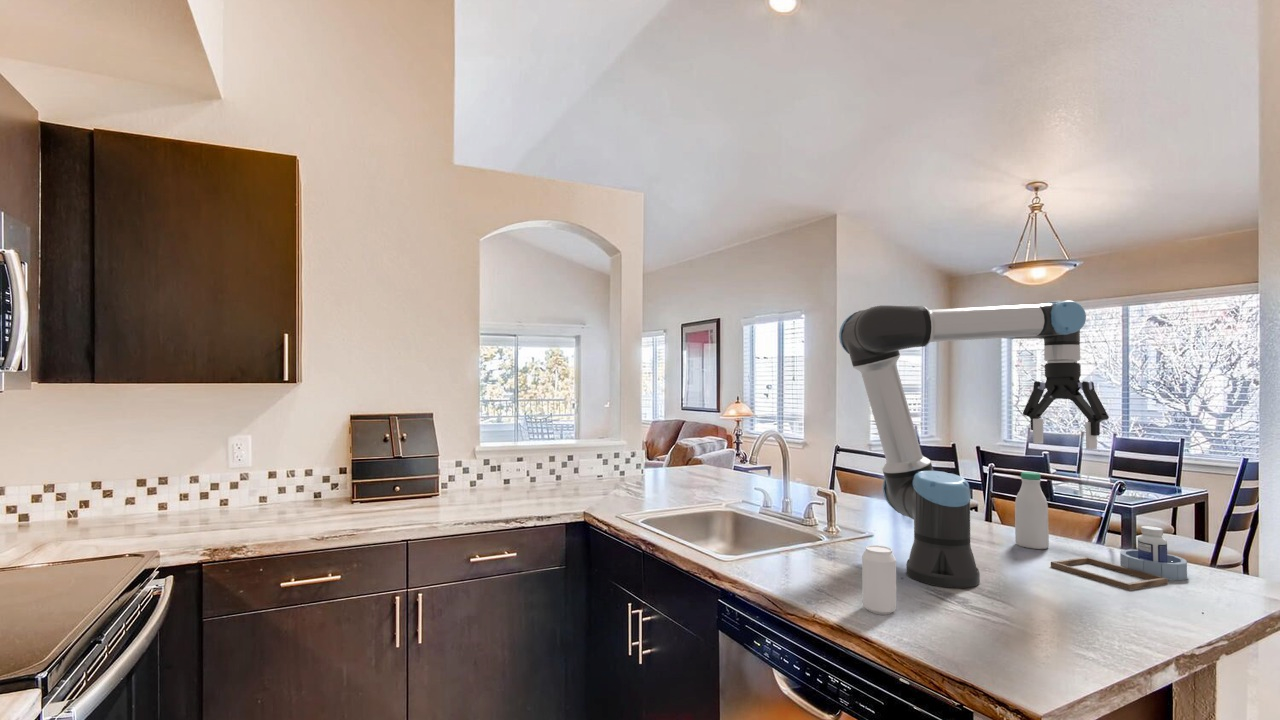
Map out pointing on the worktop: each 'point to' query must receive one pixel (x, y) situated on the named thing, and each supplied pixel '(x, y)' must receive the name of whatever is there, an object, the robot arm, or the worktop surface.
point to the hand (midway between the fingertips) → (1063, 446)
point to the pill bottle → (1152, 545)
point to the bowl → (1155, 565)
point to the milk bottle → (1031, 513)
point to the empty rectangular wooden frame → (1151, 581)
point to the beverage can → (879, 580)
